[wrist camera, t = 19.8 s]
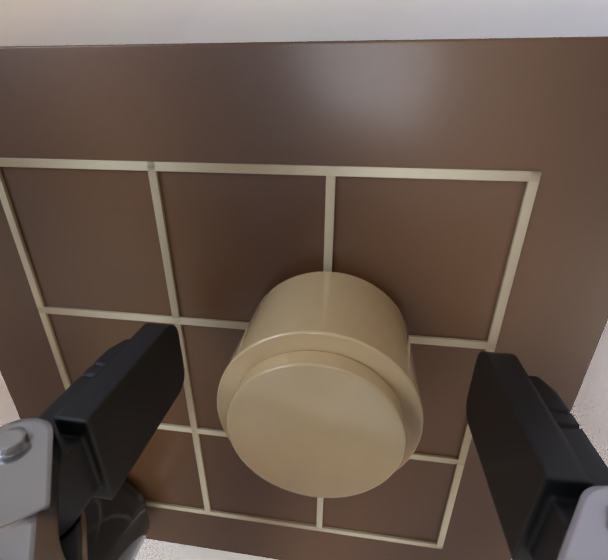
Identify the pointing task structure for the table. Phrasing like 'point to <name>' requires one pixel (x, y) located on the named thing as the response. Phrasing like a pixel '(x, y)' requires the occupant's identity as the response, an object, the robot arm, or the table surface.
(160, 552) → the table surface
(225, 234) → the board
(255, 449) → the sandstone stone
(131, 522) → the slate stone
